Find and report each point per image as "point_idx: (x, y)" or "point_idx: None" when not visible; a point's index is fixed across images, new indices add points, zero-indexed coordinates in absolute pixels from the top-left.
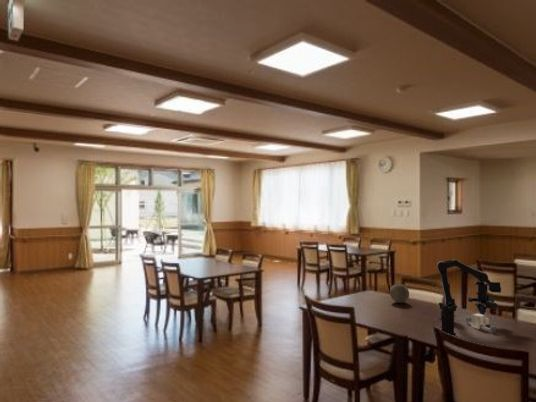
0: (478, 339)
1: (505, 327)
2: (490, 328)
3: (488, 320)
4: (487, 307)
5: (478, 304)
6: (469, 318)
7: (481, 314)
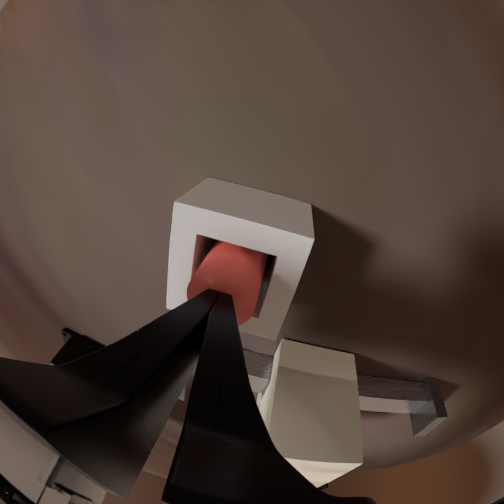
0: (377, 460)
1: (477, 159)
2: (415, 424)
3: (312, 224)
4: (288, 462)
5: (104, 491)
6: (186, 388)
7: (306, 462)
